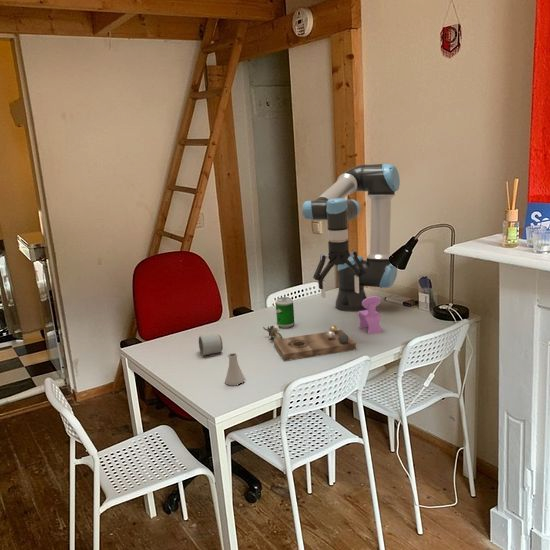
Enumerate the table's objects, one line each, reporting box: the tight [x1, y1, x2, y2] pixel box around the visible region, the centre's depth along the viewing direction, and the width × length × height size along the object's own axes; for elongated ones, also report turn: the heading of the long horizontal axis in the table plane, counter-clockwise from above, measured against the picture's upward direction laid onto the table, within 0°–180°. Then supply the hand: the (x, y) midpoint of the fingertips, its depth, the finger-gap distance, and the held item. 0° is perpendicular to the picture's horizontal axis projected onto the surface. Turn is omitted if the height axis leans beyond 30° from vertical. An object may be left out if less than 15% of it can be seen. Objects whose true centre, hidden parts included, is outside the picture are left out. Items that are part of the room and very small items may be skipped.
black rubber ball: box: [338, 332, 349, 343], centre depth 218 cm, size 4×4×4 cm
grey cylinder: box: [198, 333, 224, 357], centre depth 225 cm, size 11×8×8 cm
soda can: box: [275, 296, 295, 329], centre depth 248 cm, size 8×8×12 cm
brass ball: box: [329, 325, 338, 333], centre depth 229 cm, size 3×3×3 cm
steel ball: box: [327, 330, 335, 339], centre depth 223 cm, size 3×3×3 cm
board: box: [273, 329, 357, 361], centre depth 222 cm, size 28×16×2 cm, turn 103°
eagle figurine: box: [262, 324, 283, 341], centre depth 233 cm, size 8×7×9 cm
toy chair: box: [358, 295, 383, 335], centre depth 236 cm, size 8×9×15 cm
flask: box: [224, 352, 246, 386], centre depth 196 cm, size 7×7×10 cm
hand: (340, 294), depth 221 cm, fingers open, 13 cm apart
